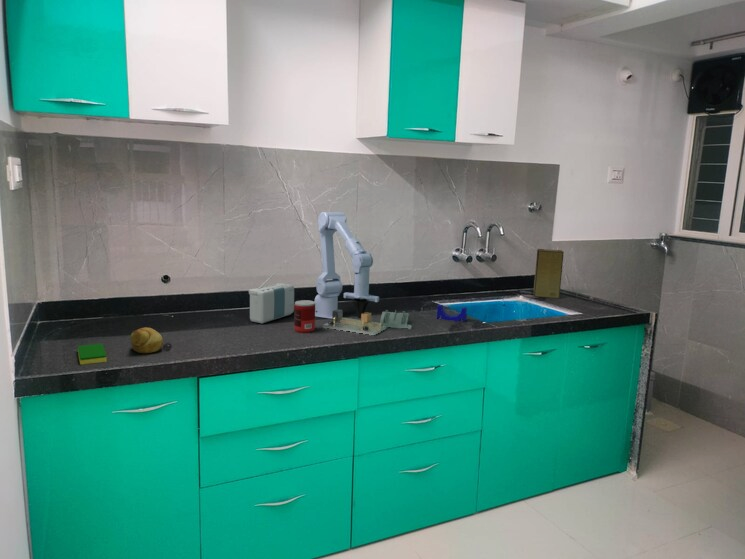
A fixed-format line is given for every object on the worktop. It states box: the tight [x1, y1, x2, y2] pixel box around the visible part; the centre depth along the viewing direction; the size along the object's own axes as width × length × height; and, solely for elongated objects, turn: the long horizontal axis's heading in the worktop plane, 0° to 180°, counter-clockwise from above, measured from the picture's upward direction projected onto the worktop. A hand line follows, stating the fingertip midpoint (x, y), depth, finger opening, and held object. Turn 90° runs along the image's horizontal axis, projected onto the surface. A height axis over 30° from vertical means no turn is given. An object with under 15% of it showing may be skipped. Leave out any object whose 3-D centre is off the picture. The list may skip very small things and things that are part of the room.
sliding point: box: [360, 311, 372, 326], centre depth 217 cm, size 2×5×4 cm, turn 156°
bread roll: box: [130, 326, 164, 354], centre depth 181 cm, size 13×10×8 cm
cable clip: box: [436, 304, 468, 323], centre depth 238 cm, size 12×4×6 cm, turn 70°
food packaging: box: [532, 248, 564, 300], centre depth 297 cm, size 13×9×25 cm
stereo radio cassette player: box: [248, 267, 295, 325], centre depth 226 cm, size 21×8×20 cm, turn 152°
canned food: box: [293, 299, 316, 334], centre depth 211 cm, size 8×8×11 cm
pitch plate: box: [322, 308, 388, 336], centre depth 217 cm, size 22×12×6 cm, turn 66°
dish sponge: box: [77, 343, 107, 366], centre depth 172 cm, size 7×14×2 cm, turn 30°
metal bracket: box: [379, 309, 413, 330], centre depth 226 cm, size 14×6×15 cm
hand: (360, 317), depth 219 cm, fingers closed
